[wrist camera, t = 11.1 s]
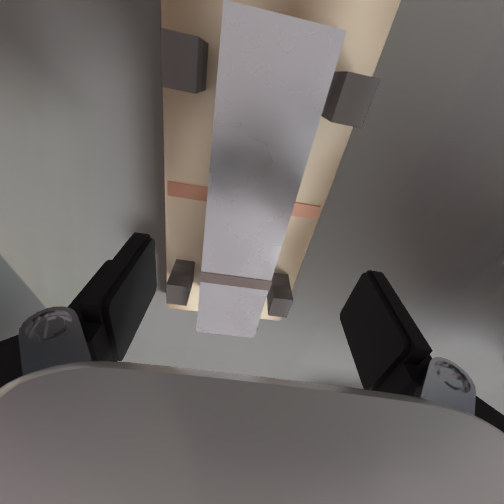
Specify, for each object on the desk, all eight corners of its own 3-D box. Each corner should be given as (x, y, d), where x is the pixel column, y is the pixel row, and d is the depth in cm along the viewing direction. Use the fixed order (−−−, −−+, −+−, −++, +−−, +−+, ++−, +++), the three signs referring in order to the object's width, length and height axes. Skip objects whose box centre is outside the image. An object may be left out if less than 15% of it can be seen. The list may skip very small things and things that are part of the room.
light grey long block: (320, 42, 13) (348, 30, 9) (254, 295, 23) (254, 338, 19) (230, 21, 12) (222, -2, 8) (204, 289, 22) (195, 332, 19)
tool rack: (395, -16, 12) (455, -53, 9) (278, 309, 26) (283, 347, 22) (168, -79, 11) (129, -152, 8) (171, 296, 25) (157, 334, 21)
